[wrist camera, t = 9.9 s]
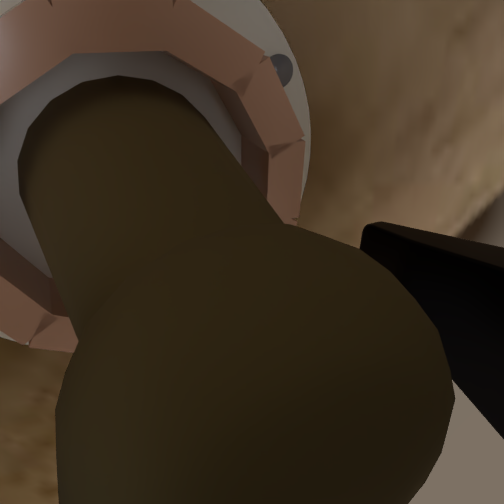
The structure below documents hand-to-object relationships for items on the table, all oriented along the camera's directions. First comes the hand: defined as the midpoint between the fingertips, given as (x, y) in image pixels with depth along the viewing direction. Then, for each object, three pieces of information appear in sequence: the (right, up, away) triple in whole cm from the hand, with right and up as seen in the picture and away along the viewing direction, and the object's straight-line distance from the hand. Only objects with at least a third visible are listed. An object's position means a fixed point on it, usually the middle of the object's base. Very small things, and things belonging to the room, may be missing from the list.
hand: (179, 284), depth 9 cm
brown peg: (-2, +3, +5) cm, 6 cm away
